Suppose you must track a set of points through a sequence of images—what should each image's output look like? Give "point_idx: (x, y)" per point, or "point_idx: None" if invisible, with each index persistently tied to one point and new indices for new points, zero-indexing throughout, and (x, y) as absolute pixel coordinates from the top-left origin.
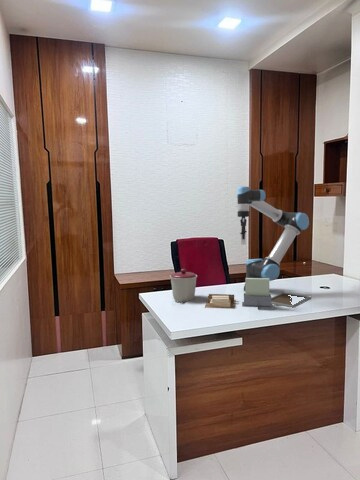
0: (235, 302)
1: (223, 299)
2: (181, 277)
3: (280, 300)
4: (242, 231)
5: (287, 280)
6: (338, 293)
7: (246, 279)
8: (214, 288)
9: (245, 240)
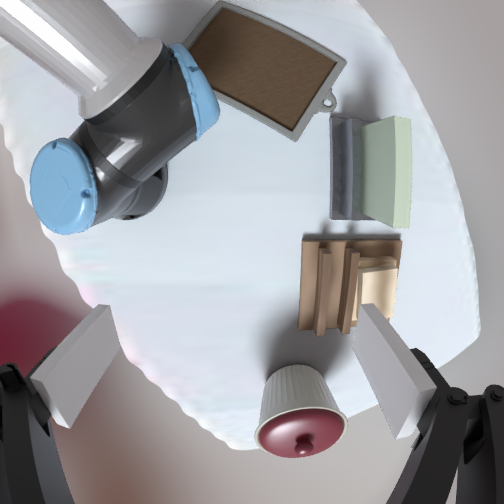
0: (339, 242)
1: (395, 284)
2: (342, 432)
3: (263, 84)
4: (483, 436)
5: (10, 96)
6: None
7: (407, 222)
8: (130, 318)
9: (393, 329)
